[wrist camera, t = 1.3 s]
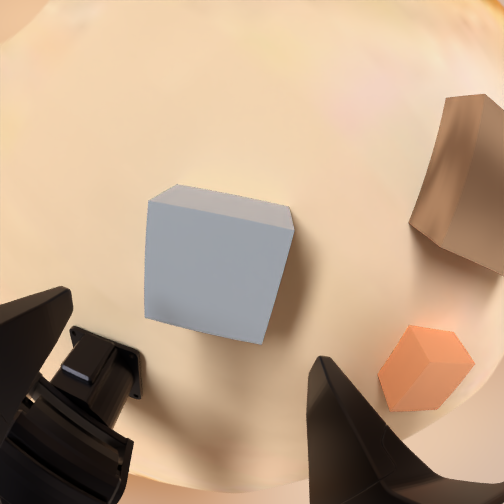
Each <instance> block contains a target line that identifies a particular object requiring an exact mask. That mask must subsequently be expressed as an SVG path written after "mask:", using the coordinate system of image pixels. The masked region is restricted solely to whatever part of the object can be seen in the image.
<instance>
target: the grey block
mask: <svg viewBox="0 0 504 504" xmlns="http://www.w3.org/2000/svg"><path fill="white" fill-rule="evenodd" d="M294 231H295V230H294V226H293V221H292V217H291V213H290V209H289V207H288V206H284V205H279V204H275V203H270V202H266V201H261V200H256V199H252V198H247V197H242V196H237V195H232V194H227V193H222V192H217V191H212V190H206V189H201V188H195V187H190V186H184V185H178V184H177V185H175V186H173V187H172V188H170V189H168V190H166V191H164V192H163V193H161V194H159V195H157V196H156V197H154V198H152V199H151V200H149V201H148V213H147V227H146V246H145V280H144V306H145V318H148V319H152V320H156V321H159V322H163V323H167V324H170V325H174V326H178V327H182V328H186V329H190V330H194V331H198V332H203V333H207V334H211V335H216V336H220V337H225V338H230V339H235V340H240V341H245V342H250V343H255V344H260V345H262V342H263V339H264V336H265V332H266V329H267V326H268V322H269V319H270V316H271V312H272V309H273V306H274V302H275V299H276V295H277V292H278V289H279V285H280V282H281V278H282V274H283V271H284V267H285V264H286V260H287V257H288V253H289V249H290V246H291V242H292V238H293V235H294Z"/></svg>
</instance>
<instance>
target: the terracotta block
mask: <svg viewBox="0 0 504 504" xmlns="http://www.w3.org/2000/svg"><path fill="white" fill-rule="evenodd" d="M474 365H475V363H474V361H473V360H472V358H471V357H470V355H469V354H468V352H467V351H466V349H465V348H464V346H463V345H462V343H461V342H460V340H459V339H458V338H457V336H456V335H455V333H454V332H450V331H443V330H436V329H430V328H423V327H417V326H411V325H409V326H408V328H407V329H406V331H405V333H404V334H403V336H402V338H401V339H400V341H399V343H398V344H397V346H396V347H395V349H394V350H393V352H392V354H391V355H390V357H389V358H388V360H387V361H386V363H385V364H384V366H383V367H382V368H381V370H380V371H379V373H378V377H379V380H380V383H381V386H382V389H383V392H384V395H385V398H386V401H387V404H388V407H389V410H390V412H395V411H421V410H435V409H438V408H439V407H440V406H441V405H442V404H443V403H444V401H445V400H446V399H447V398H448V397H449V396H450V395H451V393H452V392H453V391H454V390H455V389H456V388H457V386H458V385H459V384H460V383H461V381H462V380H463V379H464V378H465V376H466V375H467V374H468V373H469V371H470V370H471V369H472V367H473V366H474Z"/></svg>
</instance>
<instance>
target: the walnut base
mask: <svg viewBox="0 0 504 504" xmlns="http://www.w3.org/2000/svg"><path fill="white" fill-rule="evenodd" d="M409 224H410V225H412V226H413V227H414V228H416V229H417V230H419V231H420V232H421V233H422V234H424V235H425V236H426V237H428V238H429V239H430V240H432V241H433V242H434V243H435V244H437V245H438V246H439V247H440V248H443V249H445V250H448V251H450V252H452V253H455V254H457V255H459V256H461V257H464V258H466V259H468V260H470V261H473V262H475V263H477V264H479V265H481V266H484V267H486V268H488V269H490V270H492V271H494V272H496V273H498V274H500V275H502V276H504V110H503V109H502V108H501V107H500V106H498V105H497V104H496V103H495V102H494V101H493V100H492V99H490V98H489V97H488V96H487V95H486V94H478V95H468V96H458V97H450V98H446V100H445V105H444V110H443V114H442V119H441V123H440V127H439V131H438V135H437V139H436V142H435V146H434V149H433V153H432V156H431V160H430V163H429V166H428V169H427V173H426V176H425V179H424V182H423V185H422V188H421V191H420V193H419V196H418V199H417V202H416V205H415V207H414V210H413V212H412V215H411V218H410V220H409Z"/></svg>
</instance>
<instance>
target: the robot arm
mask: <svg viewBox="0 0 504 504" xmlns="http://www.w3.org/2000/svg"><path fill="white" fill-rule="evenodd" d="M72 312H73V302H72V295H71V291H70V289H68V288H66V287H63V286H59V287H56V288H52V289H49V290H46V291H43V292H40V293H36V294H33V295H30V296H27V297H24V298H20V299H17V300H14V301H11V302H8V303H5V304H2V305H0V504H117V503H118V502H119V500H120V499H121V497H122V495H123V493H124V490H125V487H126V484H127V478H128V472H129V466H130V461H131V455H132V450H133V445H134V441H132V440H130V439H129V438H125V437H123V436H122V435H120V434H118V433H117V432H115V431H114V430H113V428H114V426H115V423H116V421H117V419H118V417H119V415H120V413H121V410H122V408H123V406H124V404H125V402H126V400H127V398H128V396H130V397H132V398H135V399H141V397H142V384H141V370H140V354H139V352H138V351H137V350H135V349H133V348H130V347H128V346H125V345H122V344H119V343H116V342H114V341H111V340H108V339H106V338H103V337H101V336H98V335H96V334H93V333H91V332H88V331H86V330H83V329H81V328H79V327H76V326H72V327H71V329H70V336H71V340H72V344H73V349H72V350H71V352H70V353H69V354H68V356H67V357H66V358H65V360H64V361H63V362H62V364H61V367H60V369H59V370H58V371H57V373H56V374H55V376H54V377H53V378H52V380H51V381H50V382H49V381H47V380H46V379H45V378H44V377H43V376H42V374H41V373H40V372H39V370H40V369H41V367H42V365H43V364H44V362H45V361H46V359H47V357H48V356H49V354H50V353H51V351H52V349H53V348H54V346H55V344H56V343H57V341H58V339H59V337H60V335H61V333H62V331H63V329H64V327H65V326H66V324H67V322H68V320H69V318H70V316H71V314H72ZM31 398H33V399H34V400H35V403H33V402H32V401H31V400H30V399H31ZM306 421H307V439H308V461H309V493H310V504H503V503H504V482H502V483H497V484H488V483H476V482H468V481H460V480H454V479H448V478H444V477H442V476H440V475H438V474H436V473H435V472H433V471H432V470H431V469H430V468H429V467H428V466H427V465H426V464H425V463H423V462H422V461H421V460H420V459H419V458H418V457H417V456H416V455H415V454H414V453H413V452H412V451H411V450H410V449H409V448H408V447H407V446H406V445H405V444H404V443H403V442H402V441H401V440H400V439H399V438H398V437H397V436H396V434H395V433H394V432H393V431H392V430H391V429H390V427H389V426H388V425H386V423H385V422H384V420H383V419H382V418H381V417H380V416H379V415H378V413H377V412H376V411H375V410H374V409H373V407H372V406H371V405H370V404H369V403H368V401H367V400H366V399H365V398H364V397H363V396H362V394H361V393H360V392H359V391H358V390H357V388H356V387H355V386H354V385H353V384H352V382H351V381H350V380H349V379H348V378H347V376H346V375H345V374H344V373H343V372H342V370H341V369H340V368H339V367H338V366H337V364H336V363H335V362H334V361H333V360H332V359H331V358H330V357H327V356H318V357H317V359H316V361H315V363H314V364H313V366H312V368H311V370H310V372H309V376H308V393H307V409H306Z"/></svg>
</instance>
